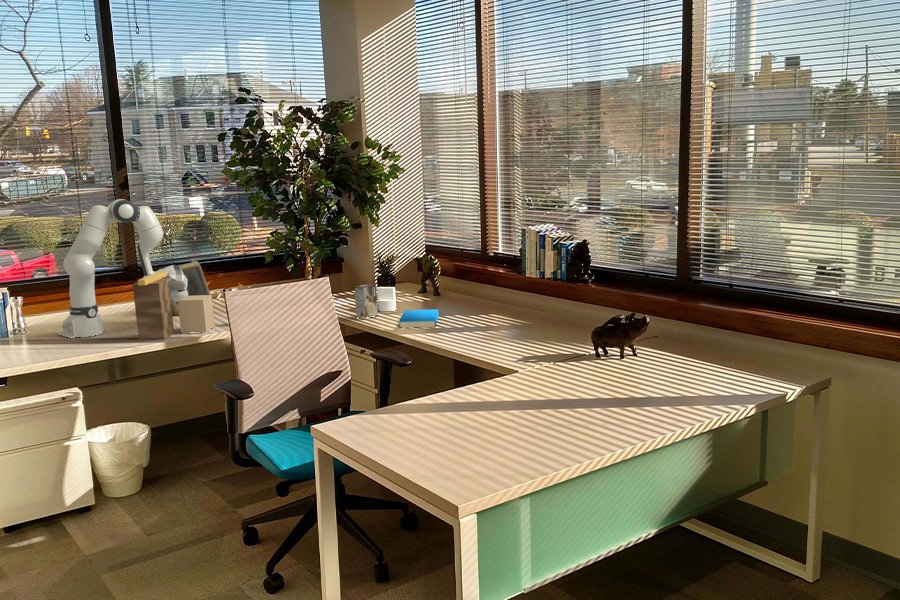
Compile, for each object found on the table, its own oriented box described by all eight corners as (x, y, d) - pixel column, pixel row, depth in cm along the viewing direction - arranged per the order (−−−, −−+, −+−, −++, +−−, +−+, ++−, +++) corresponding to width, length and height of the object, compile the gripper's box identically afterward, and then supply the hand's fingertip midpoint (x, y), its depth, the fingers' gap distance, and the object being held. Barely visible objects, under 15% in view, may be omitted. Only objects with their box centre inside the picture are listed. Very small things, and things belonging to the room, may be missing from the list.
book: (398, 321, 387) (403, 309, 412) (399, 330, 388) (404, 318, 412) (436, 319, 386) (438, 308, 411) (436, 329, 387) (439, 317, 412)
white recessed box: (376, 312, 428) (374, 289, 426) (382, 308, 436) (381, 285, 434) (392, 312, 425) (391, 289, 423) (399, 309, 433) (397, 286, 431)
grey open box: (181, 316, 439) (176, 269, 434) (158, 316, 442) (153, 269, 438) (214, 304, 469) (210, 260, 465) (192, 304, 473) (188, 260, 469)
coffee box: (368, 315, 421) (366, 283, 418) (378, 316, 417) (376, 284, 414) (356, 318, 414) (354, 286, 411) (365, 320, 410) (363, 287, 407)
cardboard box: (190, 328, 408) (186, 295, 406) (214, 327, 408) (211, 295, 405) (181, 333, 397) (177, 300, 394) (206, 333, 396) (202, 299, 393)
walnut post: (149, 334, 399) (143, 280, 394) (174, 333, 398) (168, 279, 394) (138, 340, 387) (132, 284, 383) (164, 339, 387) (158, 283, 382)
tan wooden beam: (161, 276, 404) (160, 271, 403) (167, 276, 404) (166, 270, 403) (138, 285, 378) (137, 280, 378) (145, 285, 378) (144, 279, 378)
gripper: (149, 279, 412) (138, 269, 399) (190, 278, 411) (180, 268, 398) (148, 292, 410) (136, 282, 397) (189, 290, 409) (179, 280, 396)
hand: (158, 275), depth 398 cm, fingers open, 8 cm apart
